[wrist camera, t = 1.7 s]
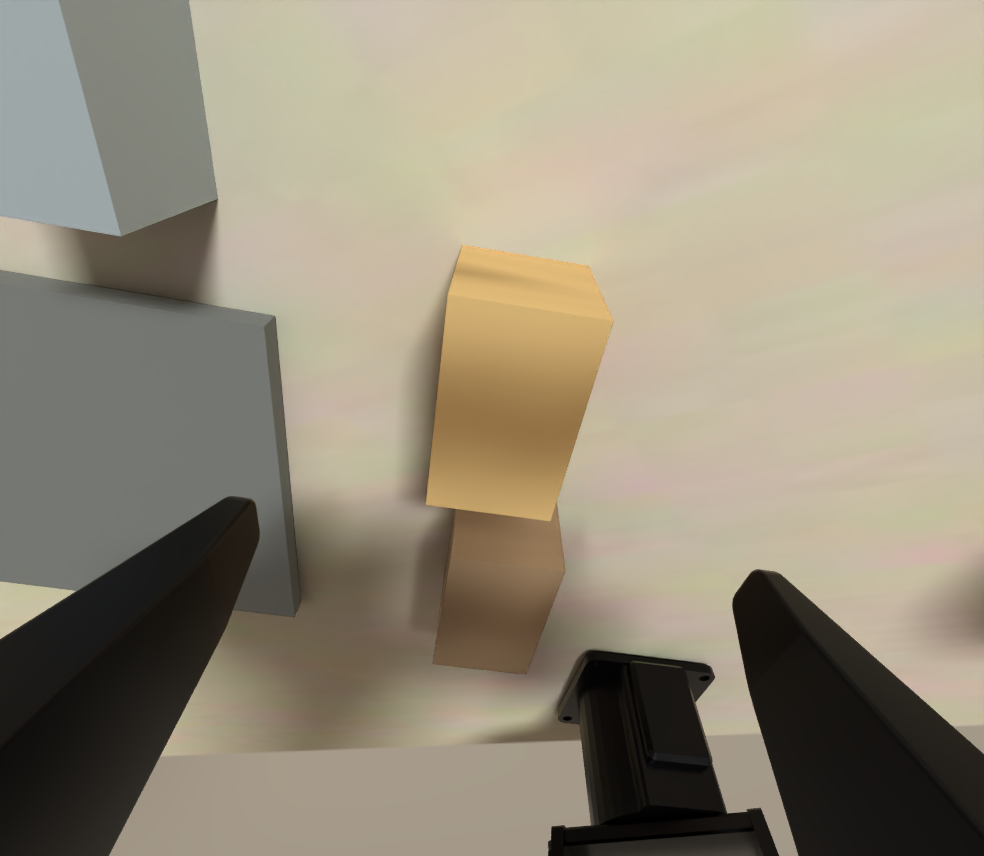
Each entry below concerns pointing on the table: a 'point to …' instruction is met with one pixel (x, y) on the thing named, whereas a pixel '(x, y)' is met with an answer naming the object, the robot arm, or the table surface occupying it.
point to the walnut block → (497, 590)
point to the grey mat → (136, 432)
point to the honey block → (513, 381)
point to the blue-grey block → (101, 114)
